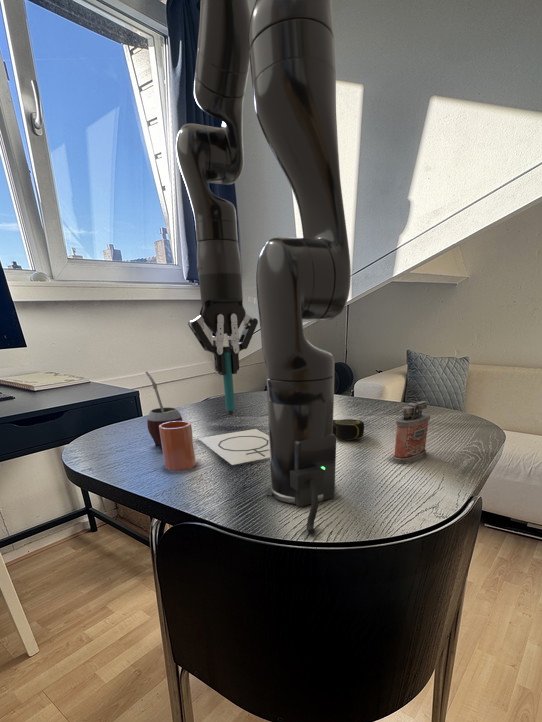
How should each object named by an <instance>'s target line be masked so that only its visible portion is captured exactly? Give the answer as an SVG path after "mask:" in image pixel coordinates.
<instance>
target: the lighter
mask: <svg viewBox="0 0 542 722" xmlns="http://www.w3.org/2000/svg"><path fill="white" fill-rule="evenodd" d="M427 409H428V402H427V401H425V400H421V401H418V402H415V403H414V402H408V403H407V406H403V407H402V416H401V417H399V418H396V420H395V425H396V431H395V432H396V433H395V444H394V454H393V455H392V462H394V463H395V464H407V463H408V464H409V463H413V462H415V461H417V460H420V459H422V458H424V457H425V456H426V454H427V450H426V445H427V438H428V429H429V421H430V420H431V414H429V413H424V412H423V410H427Z"/></svg>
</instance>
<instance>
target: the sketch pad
mask: <svg viewBox="0 0 542 722" xmlns="http://www.w3.org/2000/svg"><path fill="white" fill-rule="evenodd" d="M197 439H198V440H199V441H200V442H202V443H203V444H204V445H205V446H207V447H208V448H209V449H211V450H212V451H213V452H214V453H216V454H217V456H219V457H220V458H222V459H223V460H224V461H226V462H227V463H228V464H230V465H231V466H235V465H240V464H245V463H250V462H255V461H261V460H264V459H270V447H269V434H266V433H265V432H263V431H262V430H259V429H257V428H252V429H247V430H241V431H234V432H228V433H222V434H217V435H216V434H215V435H211V436H205V437H199V438H197Z"/></svg>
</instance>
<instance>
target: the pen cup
mask: <svg viewBox="0 0 542 722" xmlns="http://www.w3.org/2000/svg"><path fill="white" fill-rule="evenodd" d="M192 429H193V428H192V423H191V422H190V421H187V420H183V421H171V422H166V423H163V424H160V425H159V431H160V437H161V444H162V447H161V450H163V451H162V455H163V462H164V467H165V469H166V470H168V471H174V472H179V471H186V470H190V469H192V468H194V467H196V465H197V460H196V453H195V452H196V451H195V445H194V436H193V430H192Z"/></svg>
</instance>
